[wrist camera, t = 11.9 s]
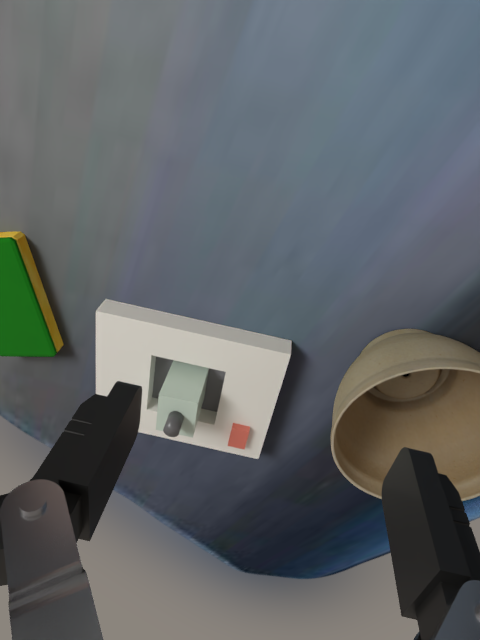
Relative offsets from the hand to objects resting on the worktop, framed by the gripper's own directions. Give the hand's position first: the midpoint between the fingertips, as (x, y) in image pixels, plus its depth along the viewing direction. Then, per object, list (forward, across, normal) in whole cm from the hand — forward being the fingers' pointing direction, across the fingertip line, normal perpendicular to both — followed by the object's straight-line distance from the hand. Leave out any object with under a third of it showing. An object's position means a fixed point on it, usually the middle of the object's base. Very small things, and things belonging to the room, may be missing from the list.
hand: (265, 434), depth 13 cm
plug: (+27, +6, +23) cm, 36 cm away
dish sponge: (+28, +26, +17) cm, 42 cm away
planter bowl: (+28, -16, +15) cm, 36 cm away
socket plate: (+28, +6, +23) cm, 37 cm away
